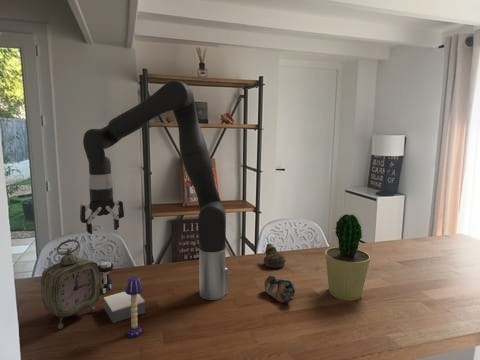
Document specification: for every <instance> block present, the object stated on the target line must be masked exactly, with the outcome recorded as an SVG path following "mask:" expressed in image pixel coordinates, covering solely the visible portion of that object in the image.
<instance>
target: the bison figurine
mask: <svg viewBox="0 0 480 360" xmlns="http://www.w3.org/2000/svg"><path fill="white" fill-rule="evenodd" d="M264 291H265V292H266V294H267V295H269V296H271V297H272V298H273V299H275V301H276V300H277V301H278V302H280V303H288V302H289V303H290V302H291V301H293V300H294V297H295V294H296V287H295V284H294V283H293V281H292V280H291V279H281V278H278V277H277V276H276V275H271V274H270V275H269V276H267V277H266V279H265V280H264Z"/></svg>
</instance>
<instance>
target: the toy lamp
mask: <svg viewBox="0 0 480 360" xmlns="http://www.w3.org/2000/svg"><path fill="white" fill-rule="evenodd" d="M143 290H144V289H143V286H142V282H141V279H140V276H137V275H133V276H130V277H129V278H128V279H127V283H126V287H125V291H124V292H126V294H128V295H131V317H130V322H131V324H130V327H128V329H127V331H126V336H127V337H128V338H137V337H140V336H141V335H142V334H143V329H142V327H140V326H139V324H138V323H139V322H138V316H139V315H138V314H137V297H136V296H137V294H139V295H140V294H141V293H142V292H143Z"/></svg>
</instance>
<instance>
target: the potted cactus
mask: <svg viewBox="0 0 480 360" xmlns="http://www.w3.org/2000/svg"><path fill="white" fill-rule="evenodd" d="M360 219H361V218H358V217H356V214H352V213H350V214H347V213H346V214H343V215H341V216H340V217H339V218H338V219H337V220H336V222H335V225H334V226H335V227H333V229H334V230H335V231H334V234H333V235H335V238H337V242H336V243H337V245H338V246H335V247H329V248H327V249H326V250H325V252H324V253H325V263H326V264H325V265H326V275H327V283H328V291H329V294H330V295H332V296H333V297H334V298H336V299H339V300H343V301H351V302H352V301H357V300H359V299H360V298H361V297H362V296H363V291H364V287H365V282H366V278H367V273H368V269H369V264H370V260H371V256H370V254H369V253H368V252H366V251H364V250H361V249H360V248H359V245H360V244H361V243H362V242H363V241H361V240H362V238H363V237H365V236H363V230H362V226H361V225H362V223H360V221H359V220H360ZM360 241H361V243H360Z"/></svg>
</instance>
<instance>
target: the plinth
mask: <svg viewBox="0 0 480 360" xmlns="http://www.w3.org/2000/svg"><path fill="white" fill-rule="evenodd" d="M136 297H137V314H138V315H137V316H139V315H142V314H145V313H146V301H145V299H144V298H143V297H142V295H140V293H139V294H137V296H136ZM103 307H104V311H105V312H106V314H107V315H108V317H109V319H110V321H111V322H112V324H114V323H117V322H121V321H124V320H127V319H131V295H128V294H126V292H125V291H122V292H117V293H115V294H111V295H107V296H104V297H103Z"/></svg>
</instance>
